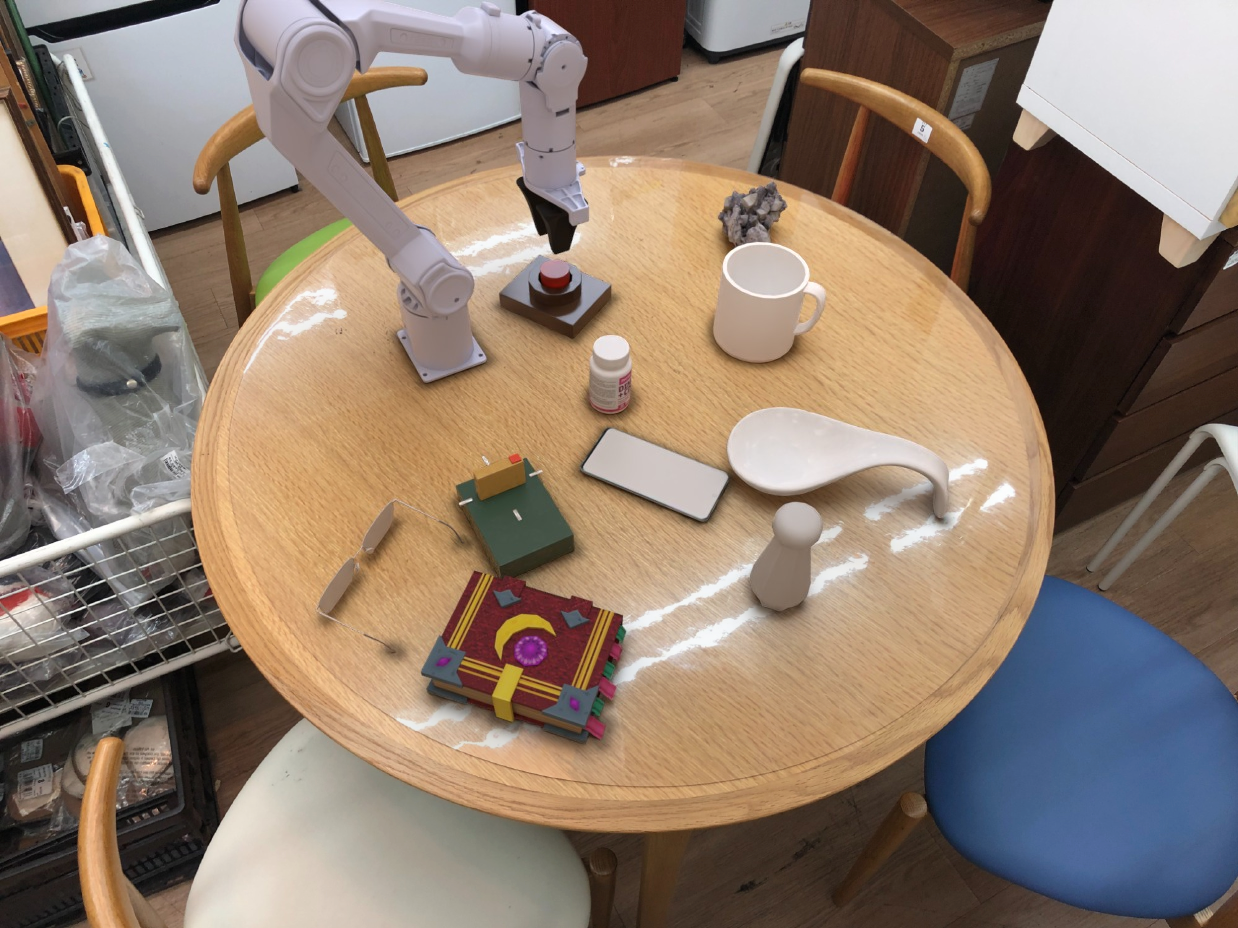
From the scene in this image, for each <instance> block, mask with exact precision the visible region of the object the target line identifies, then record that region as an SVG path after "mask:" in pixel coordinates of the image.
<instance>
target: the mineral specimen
mask: <svg viewBox="0 0 1238 928" xmlns="http://www.w3.org/2000/svg"><path fill="white" fill-rule="evenodd" d="M777 185H778V184H777V183H776V182H775V181H773V180H771V181H770V182H767V184H766V185H765V186H764V185H761V184H759V185H758V187H757V188H755V187H751V188H750V189H749V191H748V193H743V192H742V193H739V192H738V191H736V190H733V191H732V193H731V195H728V196H726V197H724V202H723V209H722V210H721V212H719V214H718V215H717V219H718V220H719V221H720V222H721V223H722V227H721V228H722V233H723V234H724V235H725V236H726V237H727V238H728V242H730V243H733V245H734V248H736V247H738V246H741V245H744V244H747V243H754V242H768V243H772V239H771V236H770V233H771V228H772V226H773V225H774V223H779V221H780V218H781V214H782V213H783V212H784V211H785V210H786V209H787V208H788V203H787V201H786V200H785V199H783V196H782V195H781V194H780V191H778V188H777Z"/></svg>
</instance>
